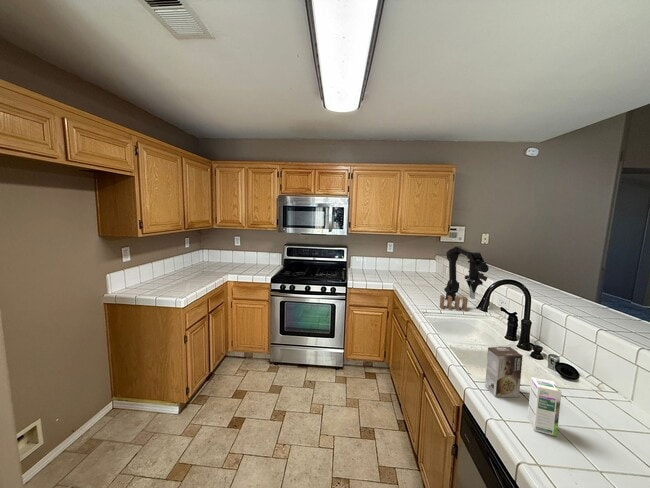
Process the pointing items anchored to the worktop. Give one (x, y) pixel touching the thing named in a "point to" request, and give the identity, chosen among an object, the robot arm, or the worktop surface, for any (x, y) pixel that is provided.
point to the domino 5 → (472, 295)
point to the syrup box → (544, 406)
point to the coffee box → (503, 371)
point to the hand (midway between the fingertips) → (472, 291)
